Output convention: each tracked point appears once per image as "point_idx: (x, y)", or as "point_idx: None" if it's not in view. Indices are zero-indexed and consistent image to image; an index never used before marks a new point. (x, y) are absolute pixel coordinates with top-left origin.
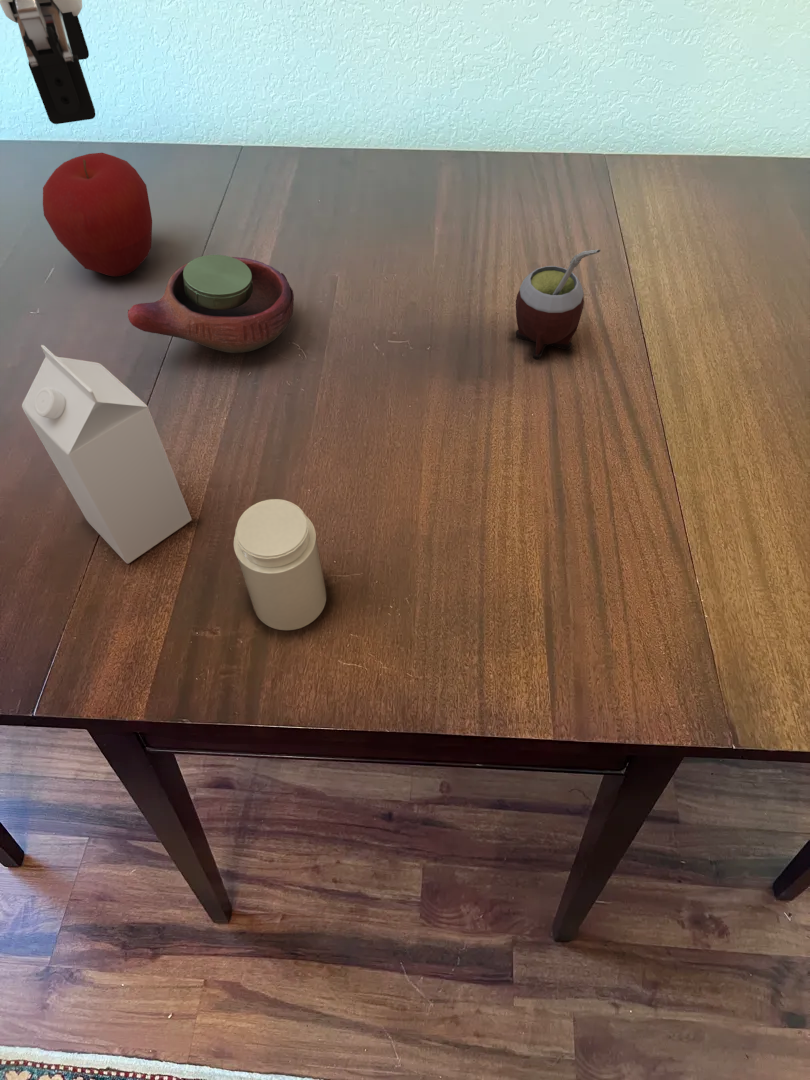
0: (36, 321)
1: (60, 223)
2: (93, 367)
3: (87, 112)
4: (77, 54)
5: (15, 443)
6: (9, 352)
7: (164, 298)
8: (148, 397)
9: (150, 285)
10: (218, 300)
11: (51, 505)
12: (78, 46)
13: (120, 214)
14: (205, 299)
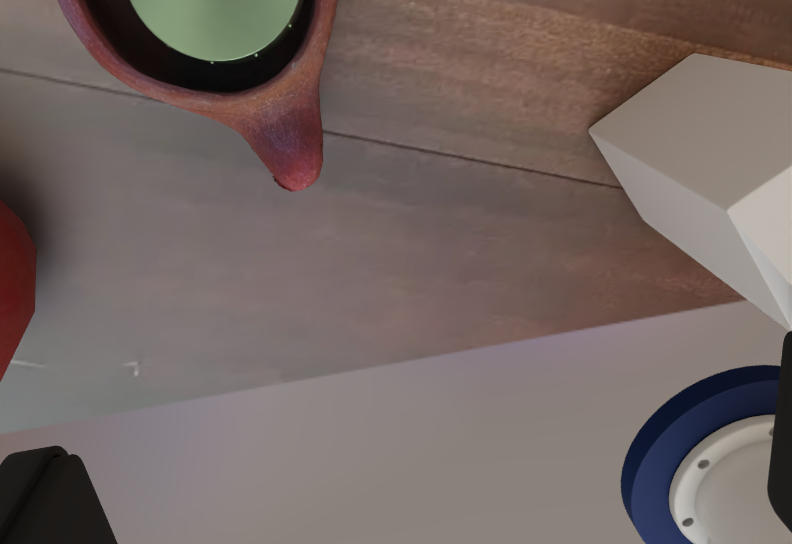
0: (161, 362)
1: (1, 367)
2: (775, 217)
3: None
4: (81, 508)
5: (459, 342)
6: (244, 388)
7: (249, 113)
8: (386, 146)
9: (40, 168)
10: None
11: (596, 273)
12: (56, 526)
13: None
14: (300, 3)
